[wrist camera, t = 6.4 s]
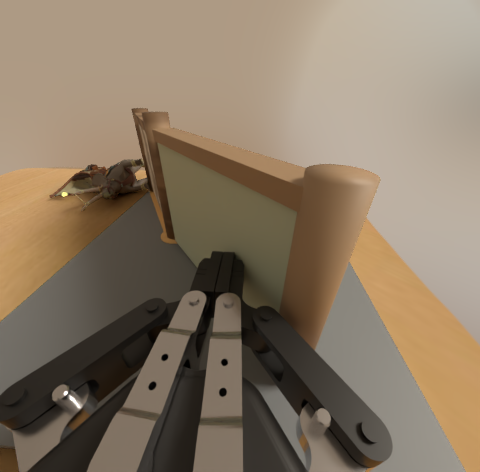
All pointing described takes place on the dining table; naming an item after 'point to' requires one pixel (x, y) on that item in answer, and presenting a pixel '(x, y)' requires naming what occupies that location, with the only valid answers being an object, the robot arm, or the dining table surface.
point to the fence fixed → (154, 158)
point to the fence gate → (267, 221)
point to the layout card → (173, 289)
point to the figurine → (105, 181)
